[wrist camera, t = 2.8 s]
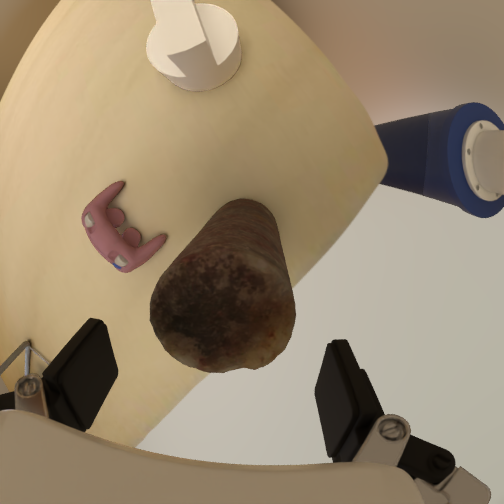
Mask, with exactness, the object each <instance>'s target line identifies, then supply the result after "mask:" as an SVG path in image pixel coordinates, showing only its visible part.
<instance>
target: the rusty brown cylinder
mask: <svg viewBox="0 0 504 504" xmlns="http://www.w3.org/2000/svg"><path fill="white" fill-rule="evenodd" d="M295 318H296V311H295V301H294V296H293V291H292V287H291V283H290V278H289V275H288V270H287V266H286V262H285V257H284V253H283V249H282V246H281V241H280V236H279V231H278V228H277V224H276V221H275V218H274V217H273V215H272V213H271V212H270V211H269V210H268V209H267V208H266V207H265V206H264V205H262V204H261V203H258V202H256V201H254V200H250V199H237V200H234V201H231V202H229V203H227V204H225V205H224V206H222V207H221V208H220V209H219V210H218V211H217V212H216V213H215V214H214V215H213V216H212V218H211V219H210V220H209V221H208V222H207V224H206V225H205V226H204V227H203V228H202V230H201V231H200V232H199V233H198V234H197V235H196V237H195V238H194V239H193V240H192V241H191V242H190V243H189V244H188V245H187V247H186V248H185V249H184V250H183V251H182V252H181V253H180V254H179V256H178V257H177V258H176V259H175V260H174V261H173V263H172V264H171V265H170V266H169V267H168V268H167V270H166V271H165V272H164V273H163V274H162V276H161V277H160V279H159V281H158V282H157V284H156V287H155V289H154V291H153V294H152V297H151V301H150V322H151V324H152V326H153V329H154V332H155V335H156V336H157V338H158V339H159V341H160V342H161V344H162V345H163V347H164V349H165V351H167V352H168V353H169V354H170V355H171V356H172V357H173V358H175V359H176V360H178V361H179V362H181V363H182V364H184V365H187V366H189V367H193V368H196V369H199V370H201V371H204V372H209V373H225V372H227V371H230V370H235V369H239V368H248V369H253V370H256V369H258V368H260V367H264V366H266V365H268V364H269V363H270V362H272V361H273V360H274V359H275V358H276V357H277V356H278V355H279V354H280V353H282V352H283V351H284V350H285V348H286V346H287V344H288V342H289V340H290V338H291V335H292V330H293V327H294V324H295Z"/></svg>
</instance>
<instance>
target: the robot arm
mask: <svg viewBox="0 0 504 504" xmlns="http://www.w3.org/2000/svg"><path fill="white" fill-rule="evenodd" d="M462 164H463V170H464V174H465V177H466V180H467V183H468V185H469V187H470V188H471V190H472V191H473V193H474V194H475V195H476V196H478V197H479V198H481V199H483V200H486V201H494V200H497V199H498V198H499V197H501V195H504V130H499V129H498V128H497V127H496V126H495V125H494V124H492V123H491V122H489V121H484V120H481V121H476V122H474V123H472V124H471V125H470V126H469V127H468V129H467V130H466V133H465V135H464V138H463V143H462ZM42 374H43V378H42V379H41V378H40V377H38V376H36V375H26V376H23V377H22V378H20V379H19V380H18V381H17V383H16V384H15V391H13V392H9V393H5V394H2V395H0V504H488V503H489V501H490V498H491V491H490V489H489V488H488V487H487V485H485V484H484V483H482V482H481V481H480V480H478V479H477V478H476V477H474V476H473V475H472V474H470V473H469V472H468V471H466V470H465V469H464V468H462V467H461V466H460V467H459V468H457V467H456V466H455V459H454V456H453V455H452V454H451V453H450V452H449V451H448V450H446V449H443V448H441V447H438V446H436V445H433V444H431V443H429V442H426V441H424V440H422V439H419V438H417V437H415V436H412V435H410V433H411V429H410V425H409V423H408V422H407V421H406V420H405V419H404V418H402V417H400V416H398V415H394V414H387V415H385V414H384V412H383V410H382V407H381V405H380V402H379V400H378V398H377V396H376V393H375V391H374V389H373V386H372V384H371V382H370V380H369V378H368V375H367V373H366V372H365V370H364V369H360V367H359V365H358V363H357V361H356V358H355V356H354V354H353V352H352V350H351V347H350V345H349V343H348V341H347V340H346V339H344V340H343V339H341V340H333V341H332V342H331V343H328V344H327V347H326V351H325V355H324V358H323V363H322V366H321V369H320V373H319V376H318V380H317V383H316V386H315V399H316V403H317V407H318V412H319V417H320V422H321V426H322V431H323V435H324V440H325V446H326V451H327V455H328V457H329V458H330V457H332V460H333V463H322V464H308V465H241V464H226V463H216V462H206V461H198V460H191V459H185V458H179V457H173V456H168V455H163V454H158V453H153V452H149V451H145V450H141V449H137V448H133V447H129V446H125V445H122V444H118V443H115V442H112V441H108V440H105V439H102V438H99V437H96V436H93V435H90V434H88V433H85V431H86V429H89V428H90V427H91V425H92V423H93V421H94V419H95V417H96V416H97V414H98V412H99V410H100V408H101V406H102V404H103V402H104V400H105V398H106V396H107V395H108V393H109V391H110V389H111V387H112V385H113V384H114V382H115V380H116V378H117V376H118V367H117V364H116V360H115V357H114V353H113V349H112V346H111V342H110V338H109V334H108V329H107V326H106V324H104V322H103V321H102V320H99V319H94V318H89V319H88V320H87V321H86V323H85V324H84V325H83V326H82V327H81V328H80V329H79V330H78V332H77V333H76V334H75V335H74V336H73V337H72V338H71V340H70V341H69V342H68V343H67V344H66V345H65V346H64V348H63V349H62V350H61V351H60V352H59V354H58V355H57V356H56V357H55V358H54V360H53V361H52V362H51V363H50V364H49V366H48V367H47V368H46V369H45V371H44V372H43V373H42Z"/></svg>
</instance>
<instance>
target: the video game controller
mask: <svg viewBox="0 0 504 504" xmlns="http://www.w3.org/2000/svg"><path fill="white" fill-rule="evenodd" d="M123 185H124V183H123V182H122V181H118V182H115V183H113V184H111V185H110V186H109V187H107V188H106V189H105V190H103V191H102V192H101V193H99V194H98V195H97V196H96V197H95V198H94V199H93V200H92V201H91V202H90V203H89V204H88V205H87V206H86V207H85V209H84V211H83V214H82V224H83V226H84V227H85V230H86V233H87V235H88V237H89V239H90V241H91V243H92V244H93V246H94V247H95V248H96V250H97V251H98V252H99V253H100V254H101V255H102V256H103V257H104V258H105V259H106V260H107V261H108V262H110V263H111V264H113V265H114V267H115V268H116V269H117V270H119V271H121V272H124V273H128V272H131V271H132V270H134V269H136V268H138V267H139V266H141V265H142V264H144V263H145V262H146V261H148V260H149V259H150V258H151V257H152V256H153V255H154V254H155V253H156V252H157V251H158V249H159V248H160V247H161V246H162V245H163V244H164V242H165V240H166V236H165V235H159V236H157V237H155V238H153V239H152V240H150V241H149V242H147V243H146V244H144V245H142V246H140V247H138V245H139V242H140V234H139V232H138V231H137V230H136V229H134V228H128V229H126V230H125V231H124V232H123V234H122V235H120V234H119V232H118V231H117V230H116V229H115V228H117V227H119V226H120V225H121V224H122V223H123V222H124V214H123V212H122V211H121V210H120V209H118V208H107V207H108V205H109V203H110V202H111V200H112V199H113V198H114V197H115V196H116V195H117V194H118V193H119V192H120V190H121V189H122V187H123Z"/></svg>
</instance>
